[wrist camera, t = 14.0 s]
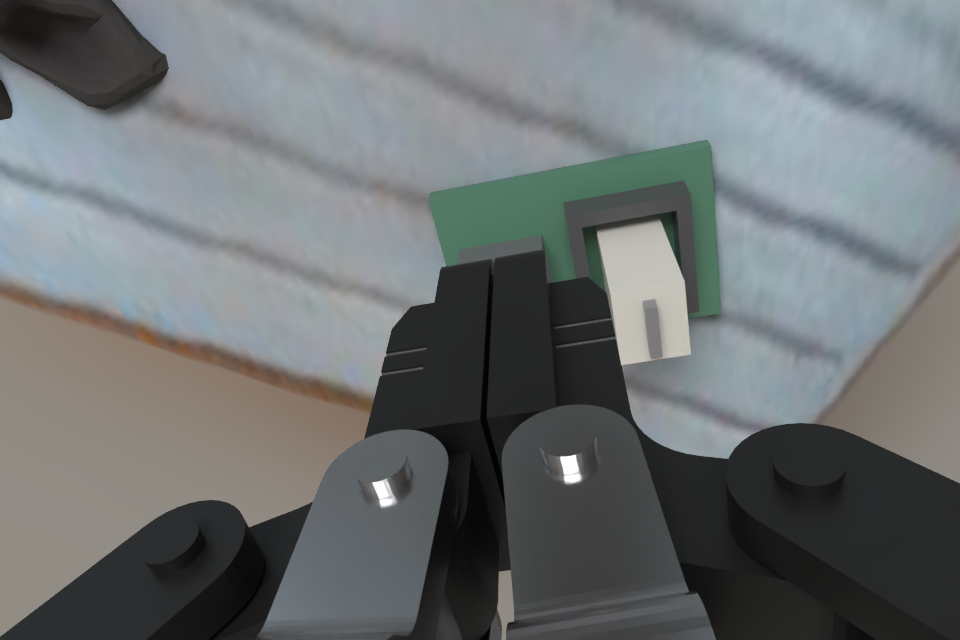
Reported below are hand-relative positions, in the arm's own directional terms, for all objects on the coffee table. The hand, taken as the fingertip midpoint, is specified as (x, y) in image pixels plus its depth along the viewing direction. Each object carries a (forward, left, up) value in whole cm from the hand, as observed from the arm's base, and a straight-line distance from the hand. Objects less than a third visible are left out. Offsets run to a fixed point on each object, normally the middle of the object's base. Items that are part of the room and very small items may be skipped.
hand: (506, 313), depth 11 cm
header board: (-1, +16, -32) cm, 36 cm away
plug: (-4, +16, -31) cm, 35 cm away
